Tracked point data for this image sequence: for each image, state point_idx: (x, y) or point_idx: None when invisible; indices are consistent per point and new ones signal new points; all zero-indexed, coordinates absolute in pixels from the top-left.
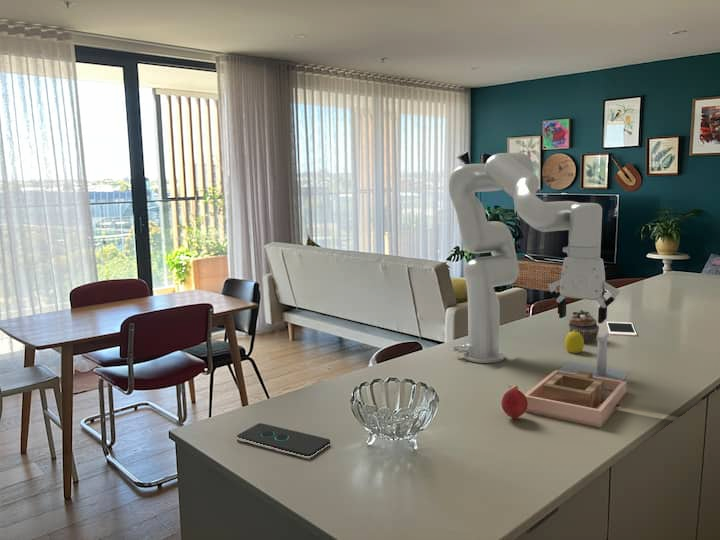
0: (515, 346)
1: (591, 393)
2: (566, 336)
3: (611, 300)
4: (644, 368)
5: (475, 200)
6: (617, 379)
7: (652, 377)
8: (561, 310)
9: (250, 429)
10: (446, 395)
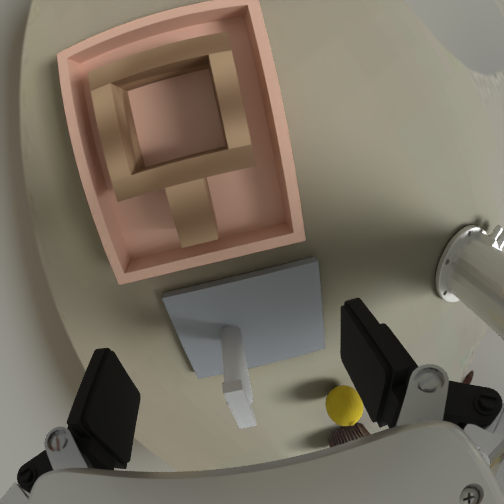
0: (431, 349)
1: (90, 84)
2: (362, 406)
3: (20, 470)
4: (205, 408)
5: None
6: (186, 327)
7: (166, 384)
8: (368, 334)
9: None
10: (415, 18)
